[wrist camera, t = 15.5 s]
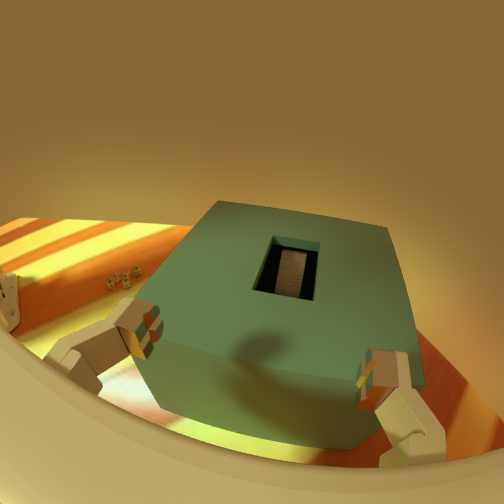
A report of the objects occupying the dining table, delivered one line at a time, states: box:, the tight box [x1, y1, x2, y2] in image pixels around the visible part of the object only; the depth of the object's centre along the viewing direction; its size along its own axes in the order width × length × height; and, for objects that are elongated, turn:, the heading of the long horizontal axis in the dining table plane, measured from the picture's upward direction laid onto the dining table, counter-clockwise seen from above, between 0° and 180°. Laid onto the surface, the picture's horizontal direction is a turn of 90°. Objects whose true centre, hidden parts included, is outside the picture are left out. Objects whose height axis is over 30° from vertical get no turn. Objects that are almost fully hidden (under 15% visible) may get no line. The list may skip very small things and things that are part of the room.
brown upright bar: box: [274, 249, 307, 299], centre depth 30 cm, size 5×2×10 cm
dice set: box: [106, 266, 142, 290], centre depth 40 cm, size 5×5×2 cm
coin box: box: [131, 201, 425, 450], centre depth 26 cm, size 20×20×14 cm
